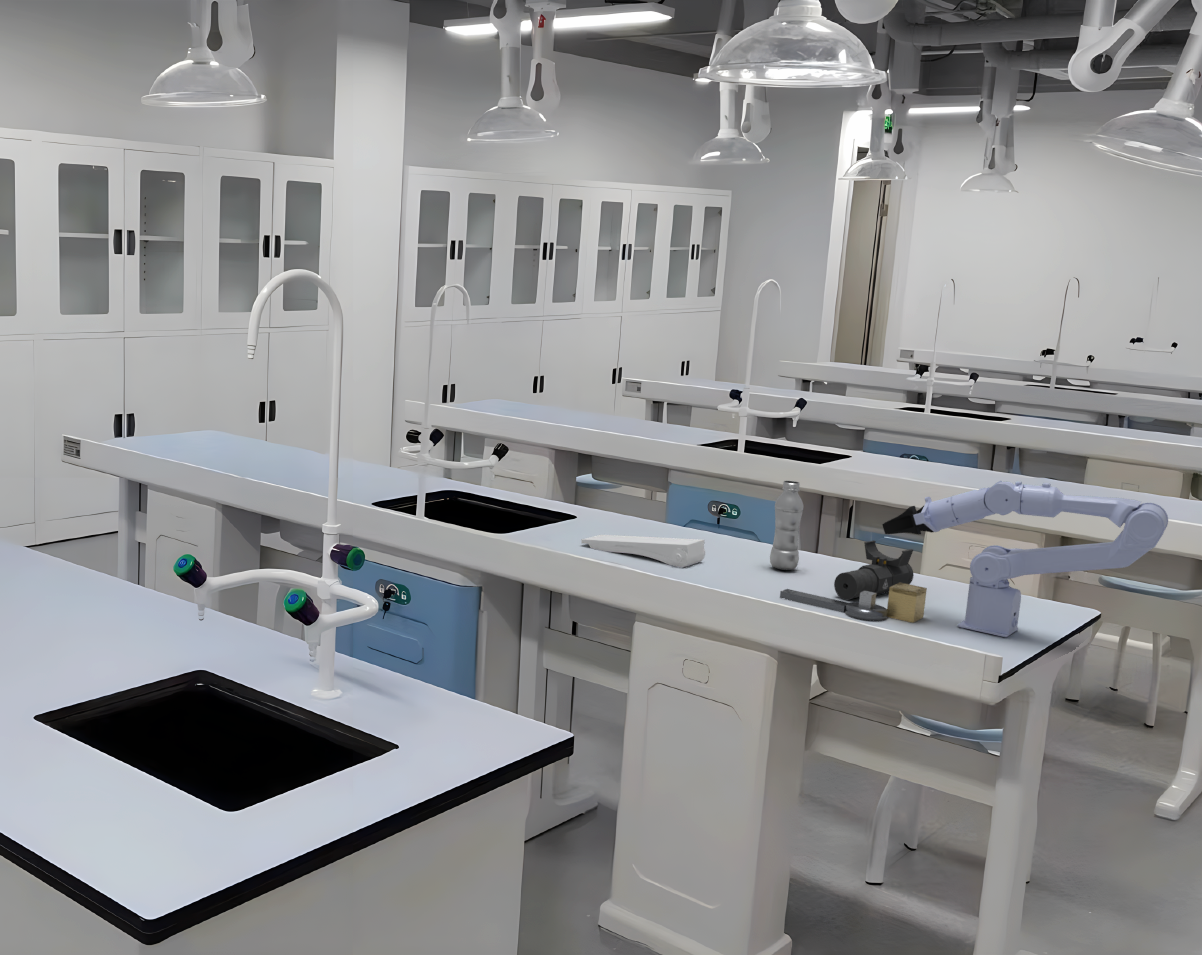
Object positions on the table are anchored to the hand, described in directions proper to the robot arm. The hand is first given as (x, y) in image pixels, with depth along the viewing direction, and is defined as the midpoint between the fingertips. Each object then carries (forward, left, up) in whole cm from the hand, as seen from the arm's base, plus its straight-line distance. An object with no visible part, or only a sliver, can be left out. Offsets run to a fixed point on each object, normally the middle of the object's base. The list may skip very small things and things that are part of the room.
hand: (890, 528), depth 233 cm
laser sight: (+6, -11, -17) cm, 21 cm away
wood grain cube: (-6, +3, -16) cm, 18 cm away
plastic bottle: (+29, -14, -17) cm, 36 cm away
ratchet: (+7, +8, -16) cm, 20 cm away
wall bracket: (+58, 0, -17) cm, 61 cm away
